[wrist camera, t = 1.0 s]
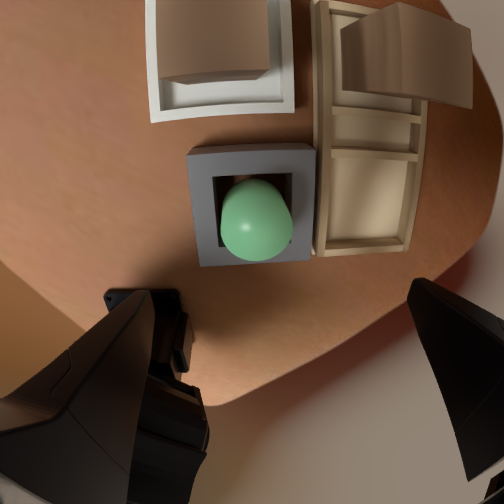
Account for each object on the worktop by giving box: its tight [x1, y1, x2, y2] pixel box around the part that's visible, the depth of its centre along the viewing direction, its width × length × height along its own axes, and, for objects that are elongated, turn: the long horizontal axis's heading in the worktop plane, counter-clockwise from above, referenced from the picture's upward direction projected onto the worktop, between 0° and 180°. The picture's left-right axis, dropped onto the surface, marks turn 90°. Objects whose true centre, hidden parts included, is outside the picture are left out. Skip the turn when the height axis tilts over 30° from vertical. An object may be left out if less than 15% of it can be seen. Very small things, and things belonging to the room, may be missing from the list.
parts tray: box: [145, 0, 294, 123], centre depth 14 cm, size 8×8×2 cm
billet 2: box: [340, 2, 473, 109], centre depth 11 cm, size 4×4×7 cm
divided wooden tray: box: [310, 0, 428, 257], centre depth 16 cm, size 7×17×2 cm, turn 2°
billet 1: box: [156, 0, 270, 85], centre depth 11 cm, size 4×4×7 cm
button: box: [221, 179, 293, 261], centre depth 16 cm, size 4×4×3 cm
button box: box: [186, 143, 316, 267], centre depth 18 cm, size 7×7×2 cm
